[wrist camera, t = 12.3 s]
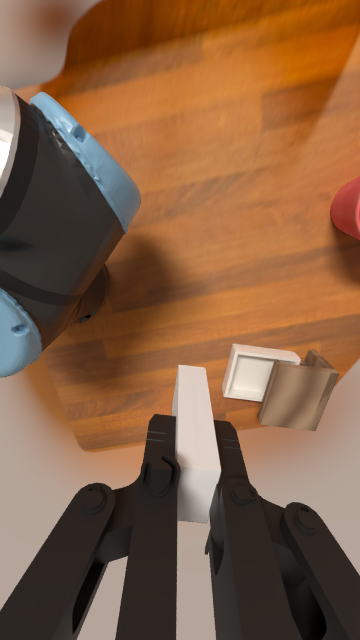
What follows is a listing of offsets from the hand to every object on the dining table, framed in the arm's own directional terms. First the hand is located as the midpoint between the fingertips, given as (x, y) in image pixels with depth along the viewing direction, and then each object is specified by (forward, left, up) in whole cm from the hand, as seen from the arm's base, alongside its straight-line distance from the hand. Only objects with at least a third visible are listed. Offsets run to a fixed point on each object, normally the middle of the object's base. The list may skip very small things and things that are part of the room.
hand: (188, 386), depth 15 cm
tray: (+17, -17, -32) cm, 40 cm away
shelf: (+22, -17, -32) cm, 43 cm away
